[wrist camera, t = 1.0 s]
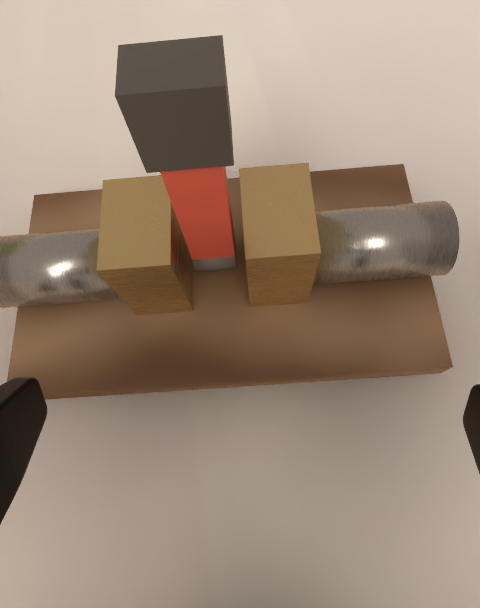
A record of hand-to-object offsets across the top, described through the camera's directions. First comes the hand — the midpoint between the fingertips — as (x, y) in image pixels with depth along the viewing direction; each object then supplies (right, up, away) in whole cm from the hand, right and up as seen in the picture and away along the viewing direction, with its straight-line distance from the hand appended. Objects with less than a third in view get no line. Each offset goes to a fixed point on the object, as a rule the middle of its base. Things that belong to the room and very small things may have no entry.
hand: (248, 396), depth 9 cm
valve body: (-1, +4, +14) cm, 14 cm away
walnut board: (-1, +3, +15) cm, 16 cm away
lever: (-1, +5, +11) cm, 12 cm away
